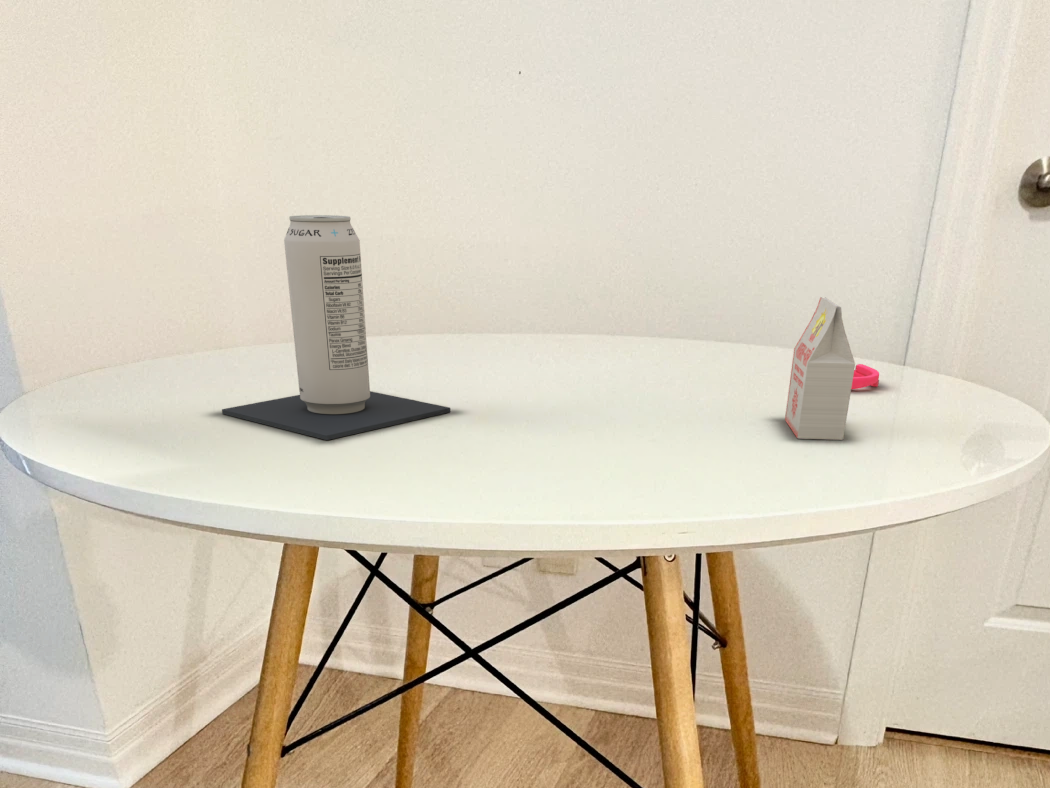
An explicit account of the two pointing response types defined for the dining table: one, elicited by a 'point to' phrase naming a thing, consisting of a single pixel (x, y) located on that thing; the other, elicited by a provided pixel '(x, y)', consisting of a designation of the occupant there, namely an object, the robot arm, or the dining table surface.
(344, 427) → the slate mat
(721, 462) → the dining table surface
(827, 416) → the milk carton
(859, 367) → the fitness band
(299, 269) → the energy drink can
